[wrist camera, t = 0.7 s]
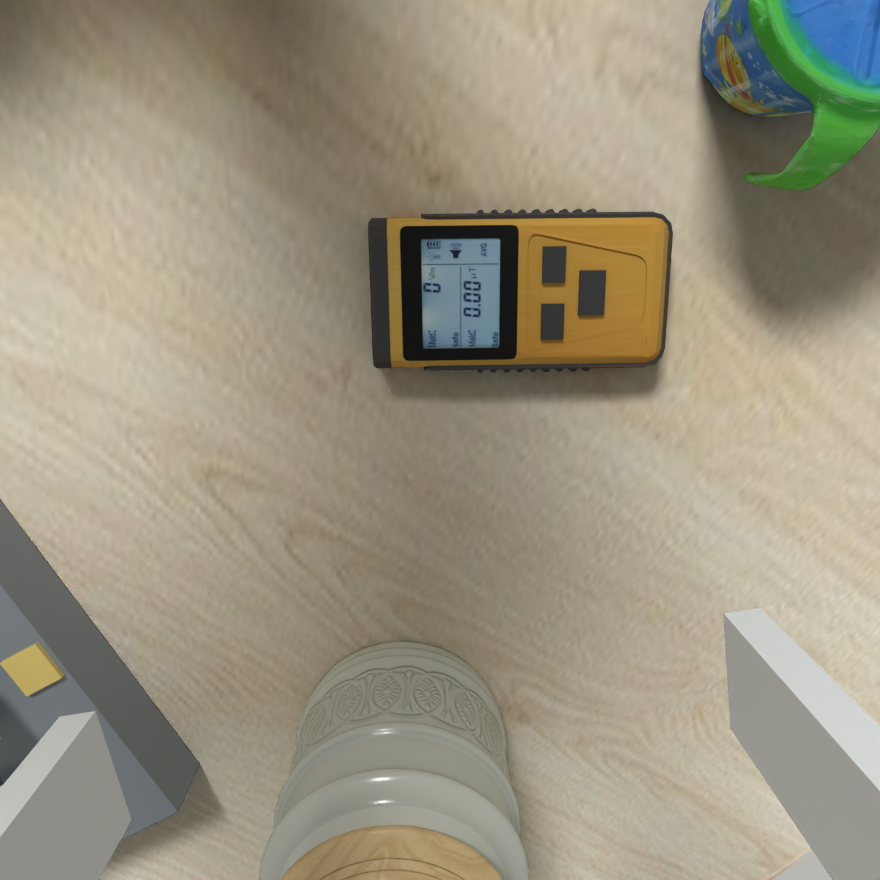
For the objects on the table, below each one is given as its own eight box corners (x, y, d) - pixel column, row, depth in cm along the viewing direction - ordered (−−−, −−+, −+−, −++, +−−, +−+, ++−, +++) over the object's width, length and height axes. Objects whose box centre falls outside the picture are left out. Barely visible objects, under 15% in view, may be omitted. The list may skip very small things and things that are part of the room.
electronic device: (647, 364, 39) (669, 373, 35) (376, 368, 38) (373, 378, 35) (657, 211, 36) (681, 205, 33) (371, 214, 36) (366, 208, 33)
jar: (513, 643, 42) (574, 896, 25) (490, 813, 45) (530, 1143, 28) (307, 627, 42) (224, 876, 24) (297, 801, 45) (219, 1131, 27)
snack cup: (806, 223, 36) (949, 204, 26) (623, 171, 35) (700, 132, 26) (924, -101, 33) (1141, -263, 23) (723, -167, 32) (858, -365, 22)
